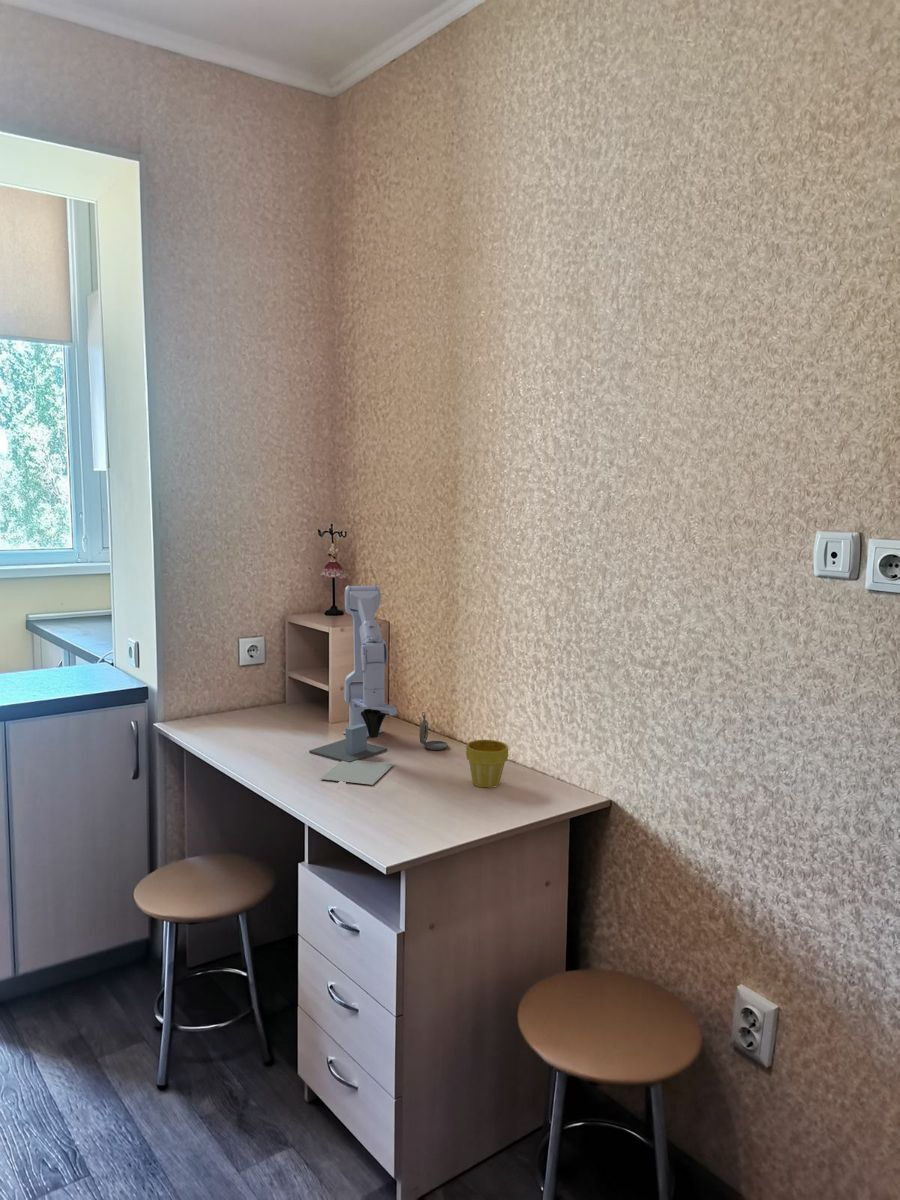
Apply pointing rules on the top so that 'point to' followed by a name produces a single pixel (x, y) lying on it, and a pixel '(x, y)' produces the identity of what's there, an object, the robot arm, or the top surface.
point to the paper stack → (357, 771)
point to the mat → (339, 751)
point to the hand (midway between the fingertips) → (373, 736)
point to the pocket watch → (424, 734)
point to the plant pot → (486, 761)
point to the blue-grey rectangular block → (356, 739)
